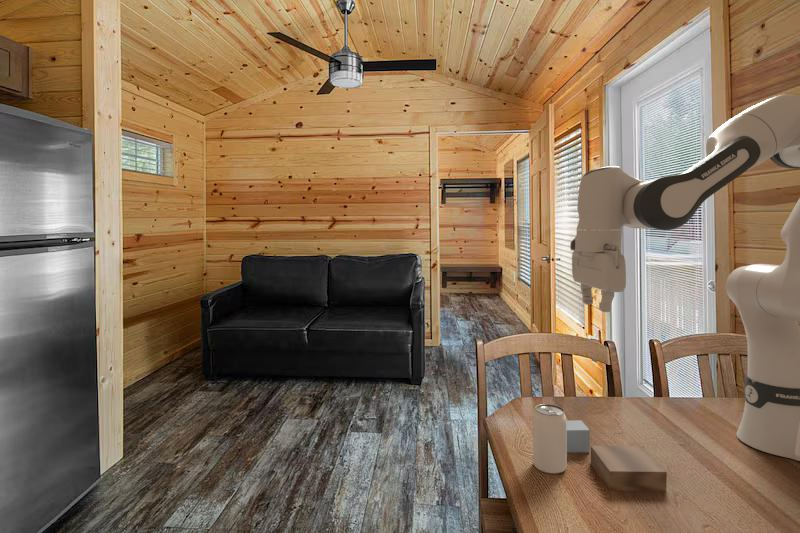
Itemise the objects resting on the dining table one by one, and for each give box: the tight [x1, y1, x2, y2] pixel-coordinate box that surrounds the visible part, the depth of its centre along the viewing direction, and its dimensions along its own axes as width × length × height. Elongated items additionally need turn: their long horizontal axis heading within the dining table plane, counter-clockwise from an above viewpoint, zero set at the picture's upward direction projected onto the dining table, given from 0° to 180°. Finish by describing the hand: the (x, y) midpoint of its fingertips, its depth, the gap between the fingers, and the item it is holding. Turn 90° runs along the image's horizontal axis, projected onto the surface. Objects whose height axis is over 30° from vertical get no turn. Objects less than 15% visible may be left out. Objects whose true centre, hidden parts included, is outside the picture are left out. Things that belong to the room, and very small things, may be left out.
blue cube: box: [566, 419, 591, 453], centre depth 99 cm, size 5×5×5 cm
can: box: [532, 403, 568, 475], centre depth 91 cm, size 6×6×12 cm
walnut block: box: [590, 445, 668, 492], centre depth 87 cm, size 10×10×4 cm
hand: (595, 307), depth 97 cm, fingers open, 8 cm apart
